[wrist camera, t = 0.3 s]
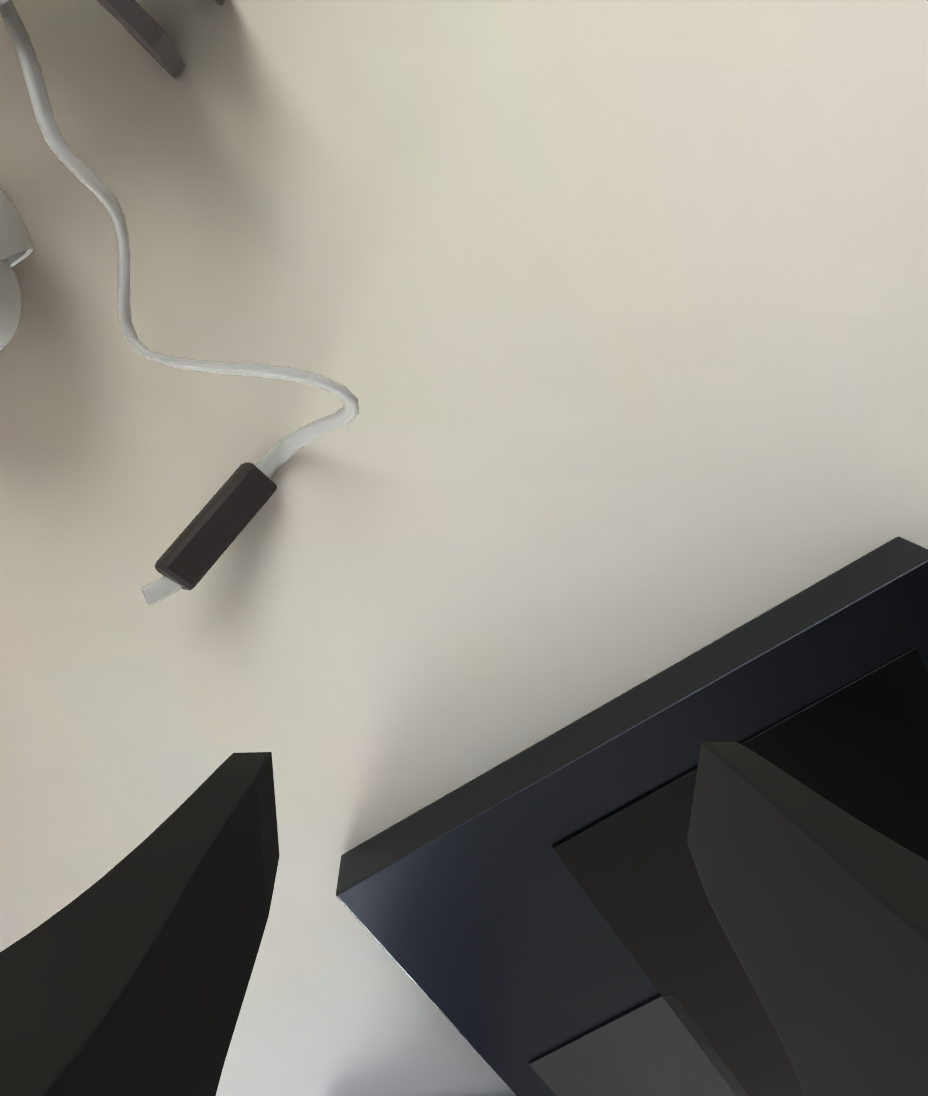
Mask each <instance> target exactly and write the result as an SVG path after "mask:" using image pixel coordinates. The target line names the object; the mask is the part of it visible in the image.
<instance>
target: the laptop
mask: <svg viewBox="0 0 928 1096" xmlns="http://www.w3.org/2000/svg"><path fill="white" fill-rule="evenodd" d="M706 742H737V743H739V744H741V745H743V746H745V747H746V748H748V749H750V750H751V751H753V752H755V753H756V754H758V755H759V756H761V757H763V758H764V759H766V760H767V761H769V762H770V763H772V764H773V765H775V766H776V767H778V768H779V769H781V770H782V771H784V772H785V773H787V774H788V775H790V776H791V777H793V778H794V779H796V780H798V781H799V782H801V783H802V784H804V785H805V786H807V787H808V788H810V789H811V790H813V791H814V792H816V793H817V794H819V795H820V796H822V797H823V798H825V799H826V800H828V801H829V802H831V803H833V804H834V805H836V806H837V807H839V808H840V809H842V810H843V811H845V812H847V813H848V814H850V815H851V816H853V817H854V818H856V819H858V820H859V821H861V822H863V823H864V824H866V825H867V826H869V827H871V828H872V829H874V830H875V831H877V832H879V833H881V834H882V835H884V836H886V837H887V838H889V839H891V840H892V841H894V842H896V843H898V844H899V845H901V846H903V847H904V848H906V849H908V850H910V851H911V852H913V853H915V854H916V855H918V856H920V857H922V858H923V859H925V860H927V861H928V549H926V548H923V547H921V546H919V545H917V544H914V543H912V542H910V541H908V540H905V539H903V538H901V537H896V538H894V539H893V540H891V541H889V542H888V543H886V544H884V545H882V546H881V547H879V548H877V549H875V550H874V551H872V552H870V553H868V554H867V555H865V556H863V557H861V558H860V559H858V560H856V561H854V562H853V563H851V564H849V565H847V566H846V567H844V568H842V569H840V570H839V571H837V572H835V573H833V574H832V575H830V576H828V577H826V578H825V579H823V580H821V581H819V582H818V583H816V584H814V585H812V586H811V587H809V588H807V589H805V590H804V591H802V592H800V593H798V594H797V595H795V596H793V597H791V598H790V599H788V600H786V601H785V602H783V603H781V604H779V605H778V606H776V607H774V608H772V609H771V610H769V611H767V612H765V613H764V614H762V615H760V616H758V617H757V618H755V619H753V620H751V621H750V622H748V623H746V624H744V625H743V626H741V627H739V628H737V629H736V630H734V631H732V632H730V633H729V634H727V635H725V636H723V637H722V638H720V639H718V640H716V641H715V642H713V643H711V644H709V645H708V646H706V647H704V648H702V649H701V650H699V651H697V652H695V653H694V654H692V655H690V656H688V657H687V658H685V659H683V660H682V661H680V662H678V663H676V664H675V665H673V666H671V667H669V668H668V669H666V670H664V671H662V672H661V673H659V674H657V675H655V676H654V677H652V678H650V679H648V680H647V681H645V682H643V683H641V684H640V685H638V686H636V687H634V688H633V689H631V690H629V691H627V692H626V693H624V694H622V695H620V696H619V697H617V698H615V699H613V700H612V701H610V702H608V703H606V704H605V705H603V706H601V707H599V708H598V709H596V710H594V711H592V712H591V713H589V714H587V715H585V716H584V717H582V718H580V719H579V720H577V721H575V722H573V723H572V724H570V725H568V726H566V727H565V728H563V729H561V730H559V731H558V732H556V733H554V734H552V735H551V736H549V737H547V738H545V739H544V740H542V741H540V742H538V743H537V744H535V745H533V746H531V747H530V748H528V749H526V750H524V751H523V752H521V753H519V754H517V755H516V756H514V757H512V758H510V759H509V760H507V761H505V762H503V763H502V764H500V765H498V766H496V767H495V768H493V769H491V770H489V771H488V772H486V773H484V774H482V775H481V776H479V777H477V778H476V779H474V780H472V781H470V782H469V783H467V784H465V785H463V786H462V787H460V788H458V789H456V790H455V791H453V792H451V793H449V794H448V795H446V796H444V797H442V798H441V799H439V800H437V801H435V802H434V803H432V804H430V805H428V806H427V807H425V808H423V809H421V810H420V811H418V812H416V813H414V814H413V815H411V816H409V817H407V818H406V819H404V820H402V821H400V822H399V823H397V824H395V825H393V826H392V827H390V828H388V829H386V830H385V831H383V832H381V833H379V834H378V835H376V836H374V837H373V838H371V839H369V840H367V841H366V842H364V843H362V844H360V845H359V846H357V847H355V848H353V849H352V850H350V851H348V852H346V853H345V854H343V855H342V856H341V862H340V869H339V876H338V883H337V890H336V896H337V897H338V898H339V899H340V901H341V902H342V903H343V904H344V905H345V906H346V907H347V908H348V909H349V910H350V912H351V913H352V914H353V915H354V916H355V917H356V918H357V919H358V920H359V922H360V923H361V924H362V925H363V926H364V927H365V928H366V929H367V930H368V931H369V933H370V934H371V935H372V936H373V937H374V938H375V939H376V940H377V941H378V943H379V944H380V945H381V946H382V947H383V948H384V949H385V950H386V951H387V952H388V954H389V955H390V956H391V957H392V958H393V959H394V960H395V961H396V962H397V964H398V965H399V966H400V967H401V968H402V969H403V970H404V971H405V972H406V973H407V975H408V976H409V977H410V978H411V979H412V980H413V981H414V982H415V983H416V985H417V986H418V987H419V988H420V989H421V990H422V991H423V992H424V993H425V995H426V996H427V997H428V998H429V999H430V1000H431V1001H432V1002H433V1003H434V1004H435V1006H436V1007H437V1008H438V1009H439V1010H440V1011H441V1012H442V1013H443V1014H444V1016H445V1017H446V1018H447V1019H448V1020H449V1021H450V1022H451V1023H452V1024H453V1025H454V1027H455V1028H456V1029H457V1030H458V1031H459V1032H460V1033H461V1034H462V1035H463V1037H464V1038H465V1039H466V1040H467V1041H468V1042H469V1043H470V1044H471V1045H472V1046H473V1048H474V1049H475V1050H476V1051H477V1052H478V1053H479V1054H480V1055H481V1056H482V1058H483V1059H484V1060H485V1061H486V1062H487V1063H488V1064H489V1065H490V1066H491V1067H492V1069H493V1070H494V1071H495V1072H496V1073H497V1074H498V1075H499V1076H500V1077H501V1079H502V1080H503V1081H504V1082H505V1083H506V1084H507V1085H508V1086H509V1087H510V1088H511V1090H512V1091H513V1092H514V1093H515V1094H516V1095H517V1096H805V1094H804V1091H803V1089H802V1086H801V1084H800V1082H799V1079H798V1077H797V1074H796V1072H795V1070H794V1067H793V1065H792V1063H791V1061H790V1059H789V1057H788V1055H787V1053H786V1050H785V1048H784V1046H783V1044H782V1042H781V1040H780V1038H779V1036H778V1034H777V1032H776V1030H775V1028H774V1026H773V1024H772V1022H771V1020H770V1018H769V1017H768V1015H767V1013H766V1011H765V1009H764V1007H763V1005H762V1003H761V1001H760V999H759V997H758V995H757V994H756V992H755V990H754V988H753V986H752V984H751V982H750V980H749V978H748V976H747V974H746V972H745V971H744V969H743V967H742V965H741V963H740V961H739V959H738V957H737V955H736V953H735V951H734V950H733V948H732V946H731V944H730V942H729V940H728V938H727V936H726V934H725V932H724V930H723V928H722V926H721V924H720V922H719V920H718V918H717V916H716V914H715V912H714V910H713V908H712V906H711V904H710V902H709V900H708V898H707V895H706V893H705V890H704V887H703V885H702V882H701V880H700V877H699V874H698V872H697V869H696V866H695V863H694V860H693V857H692V854H691V852H690V849H689V846H688V843H687V839H688V832H689V825H690V818H691V811H692V804H693V797H694V790H695V783H696V776H697V769H698V762H699V755H700V748H701V743H706Z"/></svg>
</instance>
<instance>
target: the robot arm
mask: <svg viewBox="0 0 928 1096" xmlns="http://www.w3.org/2000/svg"><path fill="white" fill-rule="evenodd" d="M687 843H688V846H689V849H690V852H691V854H692V857H693V860H694V863H695V866H696V869H697V872H698V874H699V877H700V880H701V882H702V885H703V887H704V890H705V893H706V895H707V898H708V900H709V902H710V904H711V906H712V908H713V910H714V912H715V914H716V916H717V918H718V920H719V922H720V924H721V926H722V928H723V930H724V932H725V934H726V936H727V938H728V940H729V942H730V944H731V946H732V948H733V950H734V951H735V953H736V955H737V957H738V959H739V961H740V963H741V965H742V967H743V969H744V971H745V972H746V974H747V976H748V978H749V980H750V982H751V984H752V986H753V988H754V990H755V992H756V994H757V995H758V997H759V999H760V1001H761V1003H762V1005H763V1007H764V1009H765V1011H766V1013H767V1015H768V1017H769V1018H770V1020H771V1022H772V1024H773V1026H774V1028H775V1030H776V1032H777V1034H778V1036H779V1038H780V1040H781V1042H782V1044H783V1046H784V1048H785V1050H786V1053H787V1055H788V1057H789V1059H790V1061H791V1063H792V1065H793V1067H794V1070H795V1072H796V1074H797V1077H798V1079H799V1082H800V1084H801V1086H802V1089H803V1091H804V1094H805V1096H928V861H927V860H925V859H923V858H922V857H920V856H918V855H916V854H915V853H913V852H911V851H910V850H908V849H906V848H904V847H903V846H901V845H899V844H898V843H896V842H894V841H892V840H891V839H889V838H887V837H886V836H884V835H882V834H881V833H879V832H877V831H875V830H874V829H872V828H871V827H869V826H867V825H866V824H864V823H863V822H861V821H859V820H858V819H856V818H854V817H853V816H851V815H850V814H848V813H847V812H845V811H843V810H842V809H840V808H839V807H837V806H836V805H834V804H833V803H831V802H829V801H828V800H826V799H825V798H823V797H822V796H820V795H819V794H817V793H816V792H814V791H813V790H811V789H810V788H808V787H807V786H805V785H804V784H802V783H801V782H799V781H798V780H796V779H794V778H793V777H791V776H790V775H788V774H787V773H785V772H784V771H782V770H781V769H779V768H778V767H776V766H775V765H773V764H772V763H770V762H769V761H767V760H766V759H764V758H763V757H761V756H759V755H758V754H756V753H755V752H753V751H751V750H750V749H748V748H746V747H745V746H743V745H741V744H739V743H737V742H706V743H701V748H700V755H699V762H698V769H697V776H696V783H695V790H694V797H693V804H692V811H691V818H690V825H689V832H688V839H687ZM278 860H279V845H278V832H277V819H276V806H275V793H274V780H273V767H272V754H271V752H256V753H233V754H232V755H231V756H230V757H229V758H228V759H227V760H226V761H225V762H224V763H223V764H222V765H221V766H219V767H218V768H217V769H216V770H215V772H214V773H213V774H212V775H211V776H210V777H209V778H208V779H207V780H206V781H205V782H204V783H203V784H202V785H201V786H200V787H199V788H198V789H197V790H196V791H195V792H194V793H193V794H192V795H191V796H190V797H189V798H188V799H187V800H186V801H185V802H184V803H183V804H182V805H181V806H180V807H179V808H178V809H177V810H176V811H175V812H174V813H173V814H172V815H171V816H169V817H168V818H167V819H166V820H165V821H164V822H163V823H162V824H161V825H160V826H159V827H158V828H157V829H156V830H155V831H154V832H153V833H152V834H151V835H150V836H149V837H148V838H146V839H145V840H144V841H143V842H142V843H141V844H140V845H139V846H138V847H136V848H135V849H134V850H133V851H132V852H131V853H130V854H129V855H127V856H126V857H125V858H124V859H123V860H122V861H121V862H119V863H118V864H117V865H116V866H115V867H114V868H113V869H111V870H110V871H109V872H108V873H107V874H106V875H105V876H103V877H102V878H101V879H100V880H99V881H97V882H96V883H95V884H94V885H92V886H91V887H90V888H89V889H87V890H86V891H85V892H84V893H82V894H81V895H80V896H79V897H77V898H76V899H75V900H73V901H72V902H71V903H70V904H68V905H67V906H65V907H64V908H63V909H61V910H60V911H59V912H57V913H56V914H55V915H53V916H52V917H51V918H49V919H48V920H47V921H45V922H44V923H43V924H41V925H40V926H39V927H37V928H36V929H34V930H33V931H32V932H30V933H29V934H27V935H26V936H24V937H23V938H21V939H20V940H18V941H17V942H15V943H14V944H12V945H11V946H9V947H8V948H6V949H5V950H3V951H2V952H0V1096H215V1095H216V1091H217V1088H218V1084H219V1080H220V1076H221V1072H222V1069H223V1065H224V1062H225V1058H226V1055H227V1052H228V1048H229V1045H230V1042H231V1039H232V1035H233V1032H234V1029H235V1025H236V1022H237V1019H238V1016H239V1012H240V1009H241V1006H242V1002H243V999H244V996H245V993H246V989H247V986H248V983H249V980H250V976H251V973H252V970H253V966H254V963H255V960H256V956H257V953H258V950H259V946H260V943H261V940H262V936H263V933H264V929H265V926H266V923H267V919H268V915H269V910H270V905H271V899H272V894H273V889H274V883H275V877H276V871H277V866H278Z"/></svg>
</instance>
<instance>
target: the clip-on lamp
mask: <svg viewBox="0 0 928 1096" xmlns="http://www.w3.org/2000/svg"><path fill="white" fill-rule="evenodd" d="M97 1H98V2H99V3H100V4H101V5H102V6H103V7H104V8H105V9H107V10H108V11H109V12H110V13H111V14H112V15H113V16H114V17H115V18H116V19H117V20H118V21H119V22H120V23H121V24H122V25H123V26H124V27H125V29H126V30H127V31H128V32H129V33H130V34H131V35H132V36H133V37H134V38H135V39H136V40H137V41H138V42H139V43H140V44H141V45H142V46H143V47H144V48H145V50H146V51H147V52H148V53H149V54H150V55H151V56H152V57H153V58H154V59H155V60H156V61H157V62H158V63H159V64H160V65H161V66H162V67H163V68H164V69H165V70H166V71H167V72H168V73H169V74H170V75H171V76H172V77H173V78H174V79H176V77H177V76H178V75H179V74H180V72H181V71H182V70H183V68H184V67H185V65H184V63H183V61H182V60H181V58H180V56H179V54H178V53H177V51H176V49H175V48H174V46H173V44H172V42H171V41H170V39H169V37H168V36H167V34H166V33H165V32H164V31H163V30H162V28H161V27H160V26H159V25H158V24H157V23H156V22H155V21H154V20H153V19H152V18H151V17H150V15H149V14H148V13H147V12H146V11H145V10H144V9H143V8H142V7H141V6H140V5H139V4H138V3H137V2H136V1H135V0H97ZM215 1H216V2H217V4H218V5H219V6H221V5H222V4H223V3H224V2H225V1H226V0H215ZM0 14H1V17H2V19H3V21H4V23H5V25H6V27H7V29H8V31H9V33H10V36H11V39H12V42H13V44H14V47H15V50H16V53H17V56H18V59H19V62H20V65H21V68H22V72H23V75H24V79H25V83H26V86H27V90H28V94H29V97H30V100H31V104H32V107H33V111H34V114H35V117H36V120H37V123H38V125H39V127H40V129H41V131H42V134H43V136H44V138H45V140H46V143H47V144H48V145H49V147H50V148H51V149H52V151H53V152H54V153H55V155H56V156H57V157H58V159H59V160H60V161H61V162H62V163H63V164H64V165H65V166H66V167H67V168H68V169H69V170H70V171H71V172H72V173H73V174H74V175H75V176H76V177H77V178H78V179H79V180H80V181H81V182H82V183H83V184H85V185H86V186H87V187H88V188H89V189H90V190H91V191H92V192H93V193H94V194H95V195H96V196H97V198H98V199H99V200H100V201H101V202H102V203H103V205H104V206H105V207H106V209H107V211H108V213H109V215H110V217H111V219H112V221H113V223H114V227H115V232H116V236H117V244H118V309H119V320H120V324H121V327H122V330H123V332H124V335H125V337H126V340H127V342H128V343H130V344H131V345H132V346H133V347H134V348H135V349H136V350H137V351H138V352H139V353H141V354H142V355H143V356H144V357H145V358H147V359H150V360H153V361H156V362H159V363H161V364H164V365H167V366H170V367H173V368H179V369H186V370H194V371H201V372H208V373H221V374H233V375H246V376H256V377H267V378H277V379H285V380H290V381H295V382H299V383H304V384H309V385H313V386H316V387H319V388H321V389H323V390H326V391H328V392H330V393H333V394H335V395H336V396H337V397H338V398H340V399H341V400H342V401H343V402H344V405H343V408H341V409H340V410H338V411H337V412H335V413H333V414H331V415H328V416H326V417H324V418H321V419H319V420H317V421H314V422H312V423H310V424H308V425H305V426H303V427H301V428H299V429H298V430H296V431H294V432H293V433H291V434H289V435H288V436H286V437H284V438H283V439H282V440H281V441H279V442H278V443H277V444H276V445H275V446H274V447H273V448H272V449H271V450H270V451H268V452H267V453H266V454H265V455H264V457H263V458H262V459H261V460H260V461H259V462H258V464H257V465H256V466H255V465H254V464H252V463H244V464H242V465H240V467H239V468H238V469H237V470H236V471H235V472H234V473H233V475H232V476H231V477H230V478H229V479H228V480H227V481H226V483H225V484H224V485H223V486H222V487H221V488H220V490H219V491H218V492H217V493H216V494H215V495H214V496H213V498H212V499H211V500H210V501H209V502H208V503H207V504H206V506H205V507H204V508H203V509H202V510H201V511H200V513H199V514H198V515H197V516H196V517H195V518H194V519H193V521H192V522H191V523H190V524H189V525H188V526H187V527H186V529H185V530H184V531H183V532H182V533H181V534H180V536H179V537H178V538H177V539H176V540H175V541H174V542H173V544H172V545H171V546H170V547H169V548H168V549H167V550H166V552H165V553H164V554H163V555H162V556H161V557H160V559H159V560H158V561H157V562H156V564H155V568H156V570H157V571H158V572H159V573H161V574H162V575H164V576H163V577H162V578H160V579H158V580H156V581H154V582H152V583H150V584H148V585H147V586H145V587H143V588H141V590H142V593H143V595H144V597H145V599H146V601H147V603H148V604H149V606H151V605H153V604H155V603H157V602H159V601H160V600H162V599H164V598H166V597H168V596H170V595H171V594H173V593H175V592H177V591H179V590H180V589H181V588H182V589H185V590H191V589H193V588H194V587H195V586H196V585H197V583H198V582H199V581H200V580H201V579H202V577H203V576H204V575H205V574H206V573H207V571H208V570H209V569H210V568H211V567H212V566H213V564H214V563H215V562H216V561H217V560H218V558H219V557H220V556H221V555H222V554H223V552H224V551H225V550H226V549H227V548H228V546H229V545H230V544H231V543H232V542H233V541H234V539H235V538H236V537H237V536H238V535H239V533H240V532H241V531H242V530H243V529H244V527H245V526H246V525H247V524H248V523H249V522H250V520H251V519H252V518H253V517H254V516H255V514H256V513H257V512H258V511H259V510H260V508H261V507H262V506H263V505H264V504H265V502H266V501H267V500H268V499H269V498H270V497H271V495H272V494H273V493H274V492H275V491H276V489H277V486H276V484H275V483H274V482H273V481H272V480H271V479H270V478H271V477H272V476H273V474H274V473H275V472H276V471H277V470H278V468H279V467H280V466H281V465H282V464H283V463H284V462H285V461H287V460H288V459H289V458H290V457H291V456H292V455H293V454H294V453H295V452H296V451H298V450H299V449H301V448H302V447H304V446H306V445H307V444H309V443H310V442H312V441H314V440H315V439H317V438H320V437H322V436H324V435H326V434H328V433H330V432H332V431H334V430H336V429H338V428H340V427H342V426H344V425H346V424H348V423H349V422H351V421H352V420H353V419H354V418H355V417H356V416H357V415H358V414H359V408H358V399H357V398H356V397H355V396H354V395H353V394H352V393H351V392H350V391H349V390H348V389H347V388H346V387H345V386H343V385H341V384H339V383H337V382H335V381H333V380H331V379H328V378H326V377H324V376H322V375H318V374H314V373H310V372H306V371H302V370H298V369H294V368H289V367H281V366H271V365H261V364H251V363H235V362H217V361H204V360H193V359H182V358H174V357H170V356H167V355H163V354H159V353H156V352H152V351H150V350H149V349H148V348H147V347H146V346H144V345H143V344H142V343H141V342H140V341H139V340H138V337H137V334H136V332H135V329H134V326H133V324H132V320H131V309H130V251H129V237H128V231H127V226H126V221H125V217H124V214H123V211H122V209H121V207H120V205H119V202H118V200H117V198H116V197H115V195H114V194H113V193H112V192H111V190H110V189H109V188H108V187H107V185H106V184H105V183H104V182H103V181H102V180H101V179H100V178H99V177H98V176H97V175H96V174H94V173H93V172H92V171H91V170H90V169H89V168H88V167H87V166H86V165H85V164H84V163H83V162H82V161H81V160H80V159H79V158H78V157H77V156H76V155H75V154H74V152H73V151H72V150H71V148H70V147H69V146H68V144H67V143H66V142H65V140H64V139H63V138H62V135H61V133H60V131H59V128H58V126H57V124H56V121H55V119H54V115H53V112H52V108H51V104H50V101H49V97H48V94H47V90H46V86H45V82H44V79H43V75H42V71H41V68H40V65H39V62H38V59H37V57H36V54H35V51H34V48H33V45H32V43H31V40H30V37H29V35H28V33H27V31H26V29H25V27H24V25H23V23H22V21H21V19H20V17H19V15H18V13H17V10H16V8H15V6H14V4H13V2H12V0H0ZM33 250H34V249H33V246H32V242H31V239H30V236H29V233H28V230H27V228H26V226H25V224H24V222H23V220H22V218H21V216H20V214H19V212H18V211H17V209H16V208H15V206H14V205H13V203H12V202H11V200H10V199H9V197H8V196H7V194H6V193H5V192H4V191H3V190H2V188H1V187H0V351H1V350H2V349H3V348H4V347H5V346H6V345H7V344H8V343H9V341H10V340H11V338H12V337H13V335H14V334H15V332H16V329H17V327H18V324H19V322H20V317H21V312H22V298H21V292H20V287H19V284H18V281H17V278H16V275H15V273H14V271H13V269H12V267H13V266H15V265H16V264H18V263H19V262H20V261H22V260H23V259H24V258H26V257H27V256H29V255H30V254H31V252H32V251H33Z"/></svg>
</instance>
